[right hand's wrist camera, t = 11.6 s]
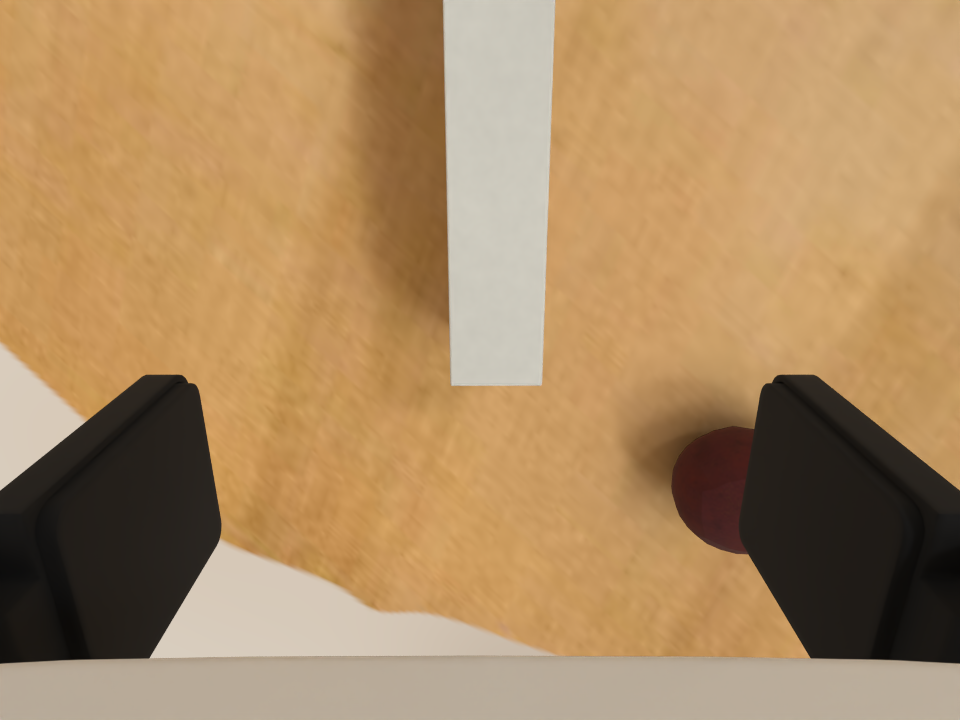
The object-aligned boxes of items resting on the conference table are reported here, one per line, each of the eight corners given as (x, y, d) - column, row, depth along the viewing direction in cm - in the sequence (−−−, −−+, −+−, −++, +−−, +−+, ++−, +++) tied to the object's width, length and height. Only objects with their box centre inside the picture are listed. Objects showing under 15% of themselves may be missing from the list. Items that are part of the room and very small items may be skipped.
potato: (655, 414, 40) (690, 476, 33) (785, 398, 39) (846, 456, 33) (661, 516, 42) (694, 592, 36) (782, 501, 42) (838, 575, 35)
